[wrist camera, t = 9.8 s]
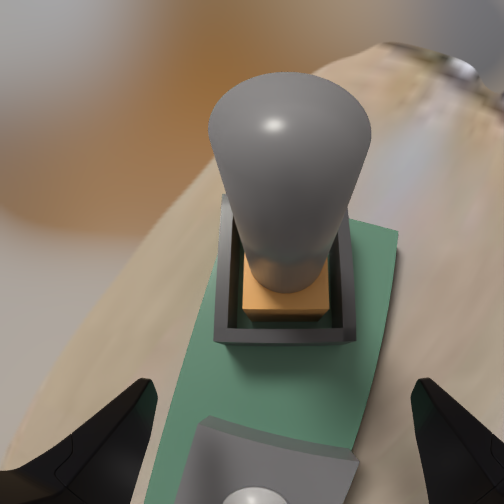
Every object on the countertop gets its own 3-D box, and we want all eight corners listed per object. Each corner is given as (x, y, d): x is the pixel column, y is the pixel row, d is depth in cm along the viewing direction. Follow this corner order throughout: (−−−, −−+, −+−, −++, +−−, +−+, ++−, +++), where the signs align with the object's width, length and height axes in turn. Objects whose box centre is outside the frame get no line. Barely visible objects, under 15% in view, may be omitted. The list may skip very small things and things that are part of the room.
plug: (317, 321, 16) (399, 224, 5) (251, 321, 16) (186, 224, 5) (315, 241, 17) (356, 60, 6) (253, 241, 18) (213, 61, 7)
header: (343, 344, 15) (356, 341, 13) (224, 345, 16) (213, 341, 13) (336, 219, 18) (345, 193, 15) (230, 219, 18) (222, 194, 16)
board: (301, 547, 12) (303, 559, 11) (150, 505, 14) (141, 513, 13) (390, 240, 19) (398, 231, 17) (241, 205, 20) (238, 193, 19)
